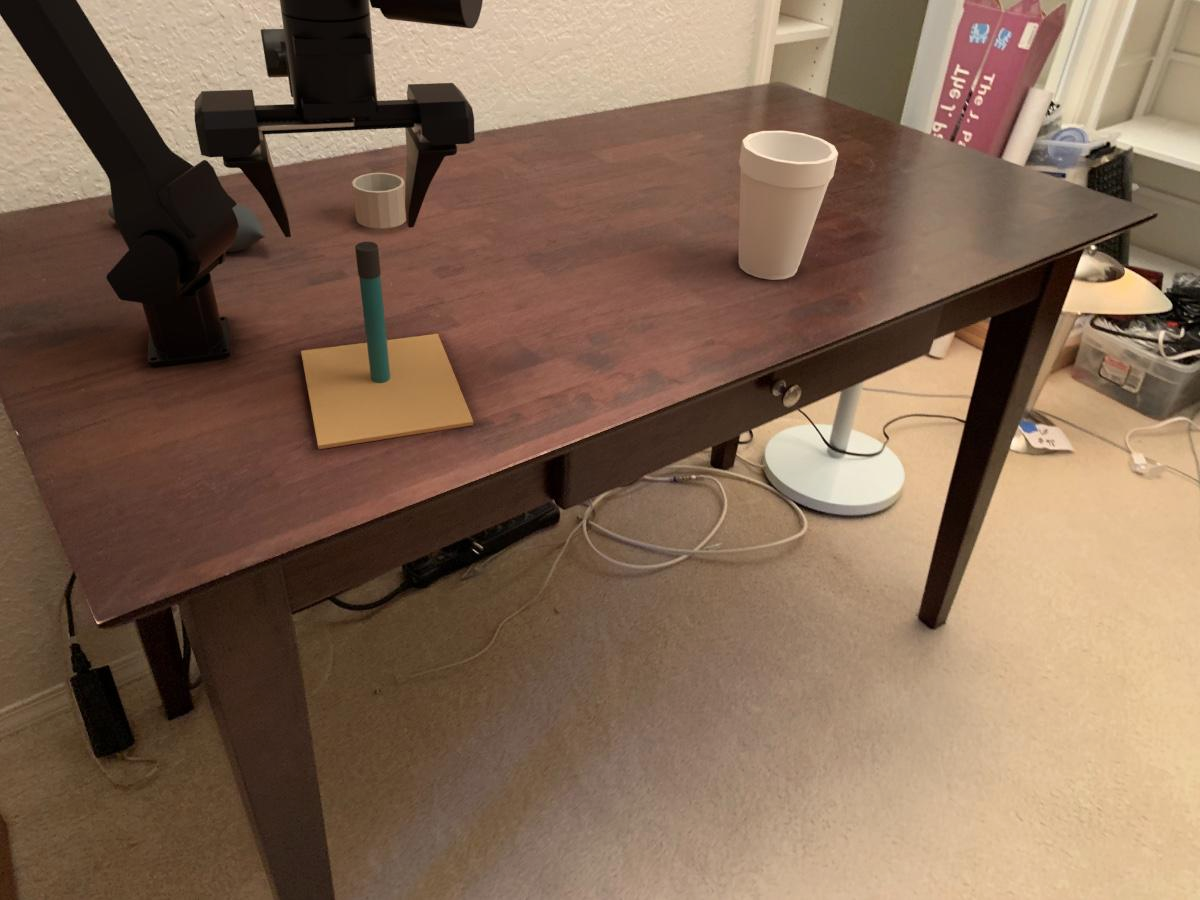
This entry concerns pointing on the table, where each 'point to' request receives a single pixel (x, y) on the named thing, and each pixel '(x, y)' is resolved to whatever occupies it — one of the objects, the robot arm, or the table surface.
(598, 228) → the table surface
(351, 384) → the desk mat
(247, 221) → the dark grey fabric pouch
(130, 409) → the table surface
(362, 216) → the pot
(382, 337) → the pen
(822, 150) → the foam cup
